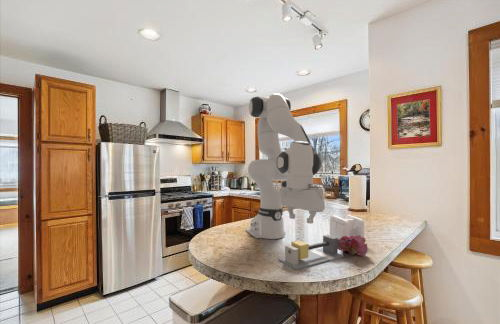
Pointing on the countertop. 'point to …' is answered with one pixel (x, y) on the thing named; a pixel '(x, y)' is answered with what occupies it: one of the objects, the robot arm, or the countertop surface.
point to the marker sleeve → (301, 249)
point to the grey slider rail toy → (313, 253)
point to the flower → (353, 245)
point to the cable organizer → (346, 226)
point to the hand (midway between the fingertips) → (300, 220)
